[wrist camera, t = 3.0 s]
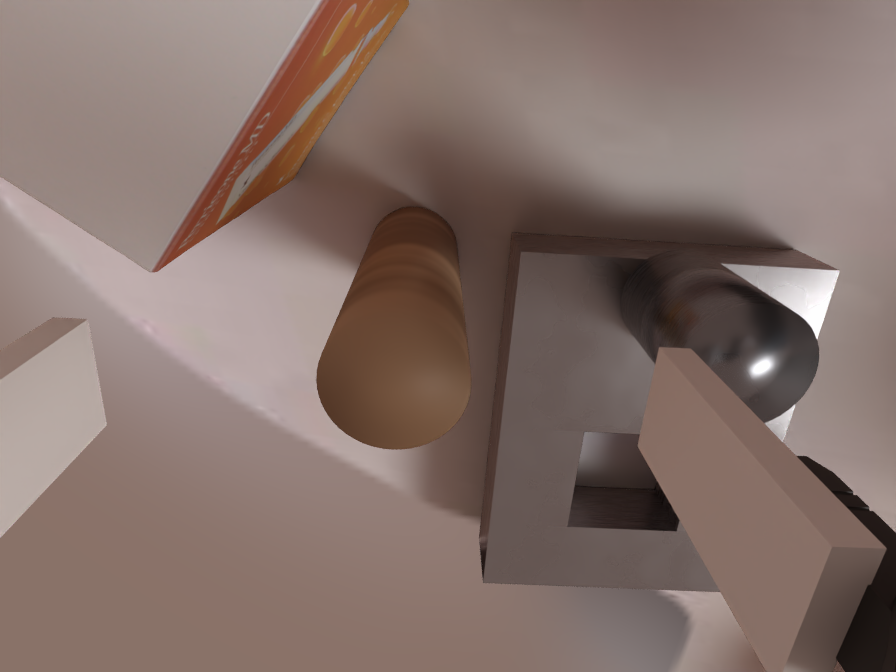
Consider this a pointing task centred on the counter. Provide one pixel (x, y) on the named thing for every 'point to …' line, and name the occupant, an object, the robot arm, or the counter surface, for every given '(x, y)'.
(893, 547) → the robot arm
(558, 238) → the square hole fixture
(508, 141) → the counter surface
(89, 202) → the small box
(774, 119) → the counter surface
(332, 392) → the wooden cylinder
